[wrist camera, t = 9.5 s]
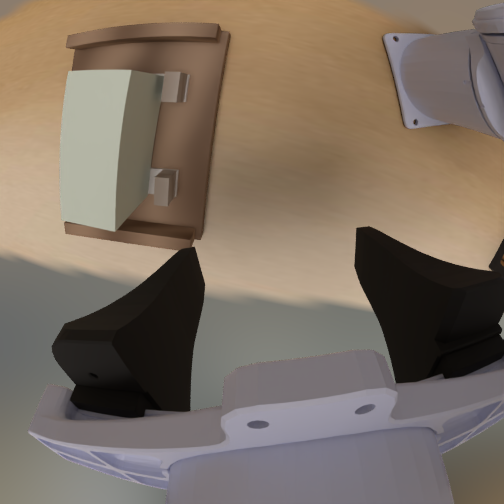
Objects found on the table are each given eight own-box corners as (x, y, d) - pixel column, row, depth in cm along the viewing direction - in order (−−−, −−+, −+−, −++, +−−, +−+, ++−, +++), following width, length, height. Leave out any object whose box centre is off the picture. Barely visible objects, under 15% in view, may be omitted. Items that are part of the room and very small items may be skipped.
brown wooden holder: (230, 35, 15) (226, 23, 12) (202, 233, 23) (195, 255, 20) (84, 41, 14) (60, 36, 11) (79, 217, 22) (59, 234, 19)
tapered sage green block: (166, 76, 16) (131, 69, 10) (147, 196, 20) (115, 231, 15) (115, 73, 15) (68, 71, 10) (102, 188, 20) (61, 220, 14)
